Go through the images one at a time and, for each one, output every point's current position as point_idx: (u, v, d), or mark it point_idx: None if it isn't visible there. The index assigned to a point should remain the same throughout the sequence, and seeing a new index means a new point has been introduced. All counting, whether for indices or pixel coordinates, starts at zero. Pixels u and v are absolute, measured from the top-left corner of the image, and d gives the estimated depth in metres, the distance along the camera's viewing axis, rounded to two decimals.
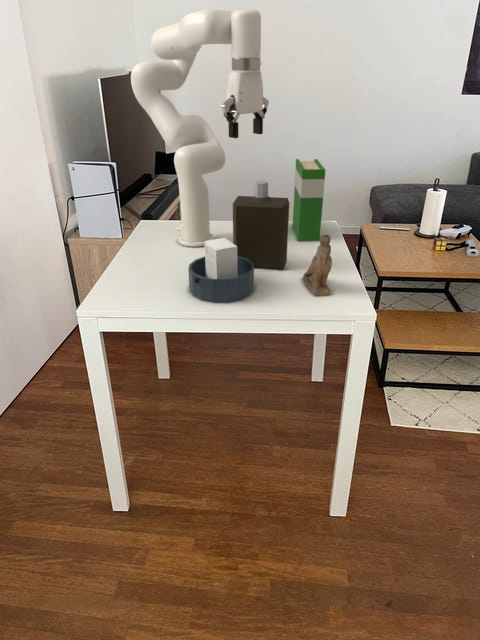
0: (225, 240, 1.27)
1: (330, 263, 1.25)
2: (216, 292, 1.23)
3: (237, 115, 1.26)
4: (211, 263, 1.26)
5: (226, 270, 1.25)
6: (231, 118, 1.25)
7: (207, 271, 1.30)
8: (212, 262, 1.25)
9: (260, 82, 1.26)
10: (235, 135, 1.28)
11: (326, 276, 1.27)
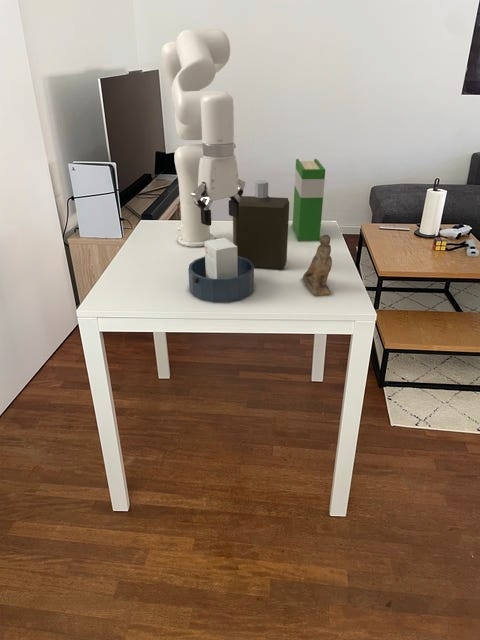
0: (225, 240, 1.27)
1: (330, 263, 1.25)
2: (216, 292, 1.23)
3: (209, 202, 1.16)
4: (211, 263, 1.26)
5: (226, 270, 1.25)
6: (203, 206, 1.15)
7: (207, 271, 1.30)
8: (212, 262, 1.25)
9: (234, 166, 1.16)
10: (208, 222, 1.18)
11: (326, 276, 1.27)
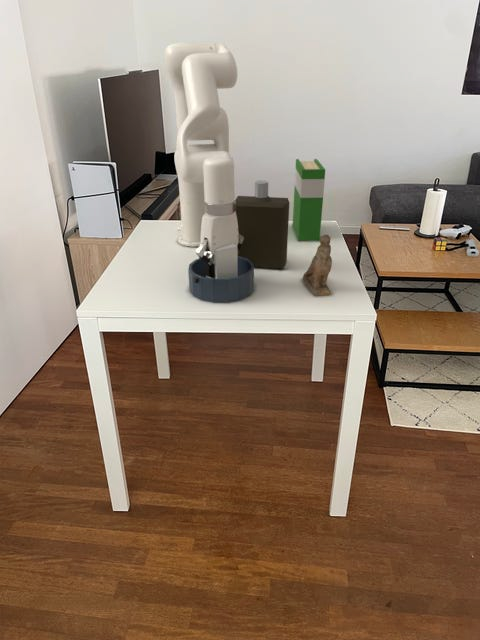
0: None
1: (330, 263, 1.25)
2: (216, 292, 1.23)
3: (212, 257, 1.23)
4: None
5: (226, 270, 1.25)
6: (207, 261, 1.23)
7: None
8: None
9: (235, 222, 1.23)
10: (211, 275, 1.25)
11: (326, 276, 1.27)
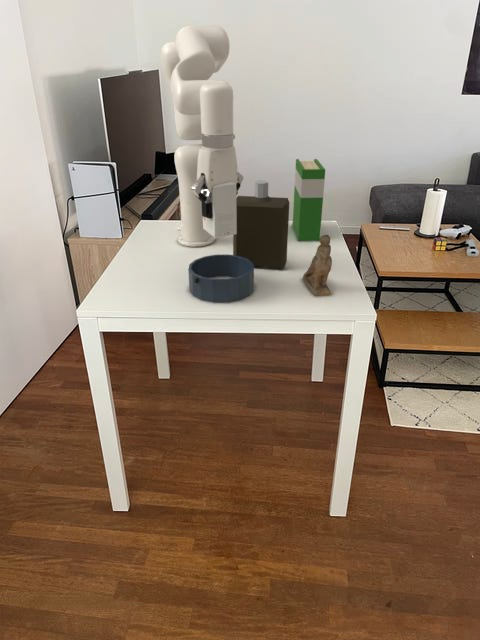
0: None
1: (330, 263, 1.25)
2: (216, 292, 1.23)
3: (210, 195, 1.15)
4: None
5: (224, 210, 1.18)
6: (204, 199, 1.15)
7: None
8: None
9: (234, 157, 1.15)
10: (209, 215, 1.18)
11: (326, 276, 1.27)
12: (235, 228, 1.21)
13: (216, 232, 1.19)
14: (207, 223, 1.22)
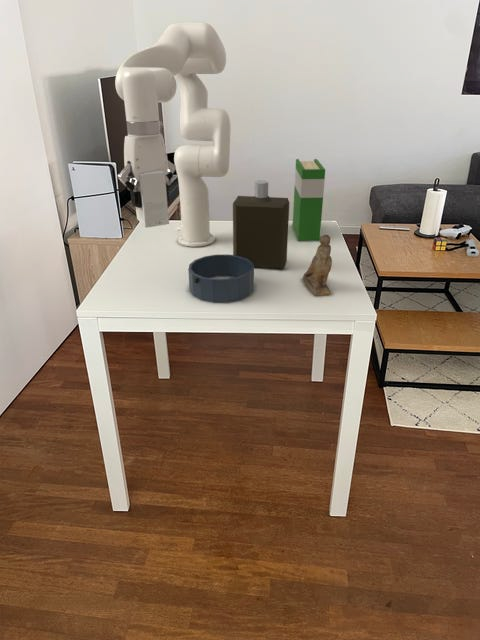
0: None
1: (330, 263, 1.25)
2: (216, 292, 1.23)
3: (138, 183, 1.14)
4: None
5: (154, 199, 1.16)
6: (131, 187, 1.13)
7: None
8: (139, 190, 1.15)
9: (162, 145, 1.14)
10: (138, 204, 1.16)
11: (326, 276, 1.27)
12: (167, 218, 1.19)
13: (147, 222, 1.17)
14: (139, 213, 1.20)
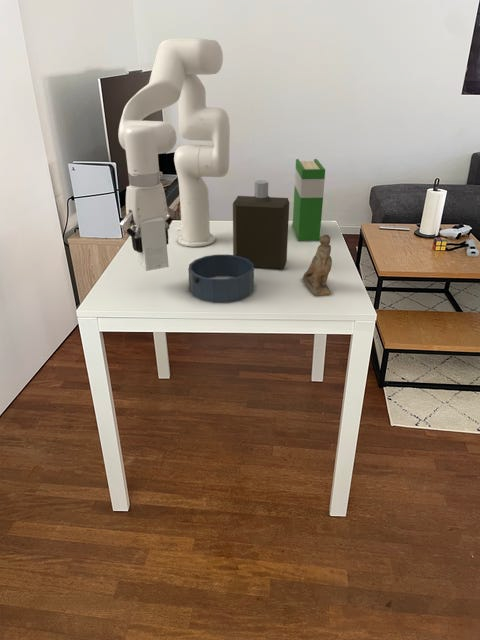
0: None
1: (330, 263, 1.25)
2: (216, 292, 1.23)
3: (138, 230, 1.19)
4: None
5: (154, 245, 1.21)
6: (132, 234, 1.19)
7: None
8: (140, 236, 1.21)
9: (161, 194, 1.20)
10: (139, 250, 1.22)
11: (326, 276, 1.27)
12: (166, 261, 1.25)
13: (147, 266, 1.23)
14: (139, 256, 1.26)
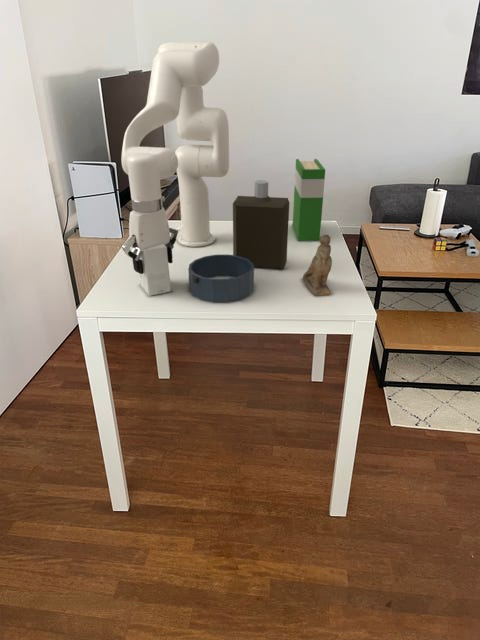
0: None
1: (330, 263, 1.25)
2: (216, 292, 1.23)
3: (140, 253, 1.22)
4: None
5: (156, 271, 1.25)
6: (133, 257, 1.22)
7: None
8: (143, 263, 1.25)
9: (164, 218, 1.23)
10: (140, 271, 1.25)
11: (326, 276, 1.27)
12: (169, 286, 1.29)
13: (150, 291, 1.27)
14: (142, 281, 1.30)
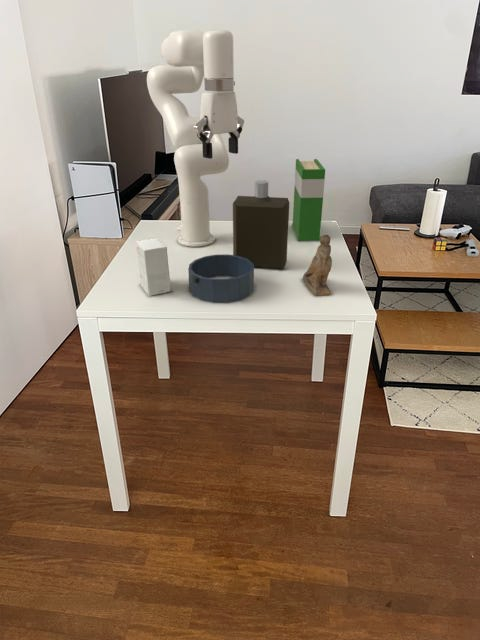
0: (157, 240, 1.27)
1: (330, 263, 1.25)
2: (216, 292, 1.23)
3: (210, 136, 1.24)
4: (142, 264, 1.26)
5: (156, 271, 1.25)
6: (204, 139, 1.24)
7: (140, 271, 1.30)
8: (143, 263, 1.25)
9: (234, 102, 1.25)
10: (209, 155, 1.26)
11: (326, 276, 1.27)
12: (169, 286, 1.29)
13: (150, 291, 1.27)
14: (142, 281, 1.30)
